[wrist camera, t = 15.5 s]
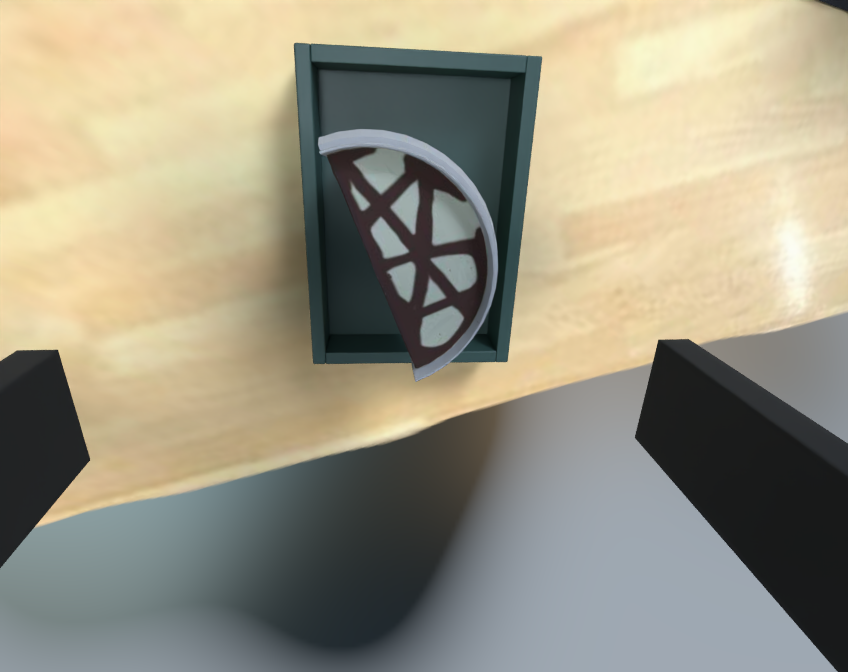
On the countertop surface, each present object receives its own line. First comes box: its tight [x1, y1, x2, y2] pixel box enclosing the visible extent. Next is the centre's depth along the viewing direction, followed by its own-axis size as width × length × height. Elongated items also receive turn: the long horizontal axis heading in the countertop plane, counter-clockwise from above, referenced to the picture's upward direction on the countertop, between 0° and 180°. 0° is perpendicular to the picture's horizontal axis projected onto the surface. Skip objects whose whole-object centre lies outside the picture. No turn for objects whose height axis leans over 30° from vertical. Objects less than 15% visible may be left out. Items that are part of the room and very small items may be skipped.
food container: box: [318, 129, 498, 382], centre depth 26 cm, size 12×6×10 cm, turn 20°
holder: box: [294, 43, 542, 364], centre depth 29 cm, size 13×18×4 cm
